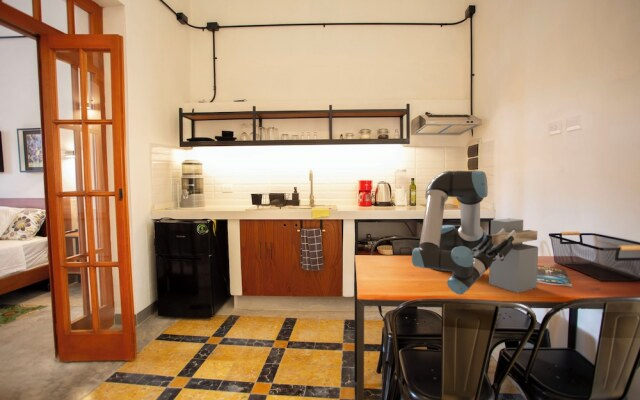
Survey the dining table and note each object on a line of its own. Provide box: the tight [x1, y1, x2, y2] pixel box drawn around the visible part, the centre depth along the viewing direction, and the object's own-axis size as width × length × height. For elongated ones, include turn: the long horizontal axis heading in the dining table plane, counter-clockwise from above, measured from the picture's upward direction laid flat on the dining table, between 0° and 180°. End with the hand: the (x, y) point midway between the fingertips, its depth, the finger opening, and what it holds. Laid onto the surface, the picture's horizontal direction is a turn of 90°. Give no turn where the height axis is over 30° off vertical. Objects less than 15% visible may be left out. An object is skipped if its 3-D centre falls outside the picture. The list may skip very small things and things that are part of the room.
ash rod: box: [492, 229, 538, 245], centre depth 143 cm, size 4×26×4 cm, turn 118°
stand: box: [488, 217, 539, 294], centre depth 149 cm, size 14×14×30 cm
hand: (509, 232), depth 141 cm, fingers closed on ash rod, 4 cm apart
